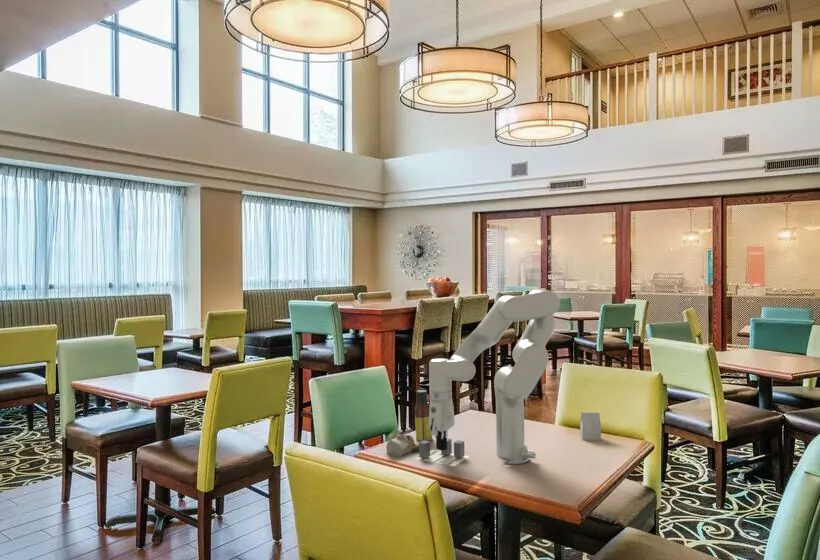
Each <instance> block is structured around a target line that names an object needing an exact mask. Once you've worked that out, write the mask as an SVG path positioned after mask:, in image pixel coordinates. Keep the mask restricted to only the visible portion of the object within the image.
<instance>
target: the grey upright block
mask: <svg viewBox="0 0 820 560" xmlns="http://www.w3.org/2000/svg"><path fill="white" fill-rule="evenodd" d="M601 424H602V423H601V416H600V412H580V420H579V427H580V429H579V433H580V435H579V437H580V439H581V440H582V441H601V440H602V431H601V430H602V429H601V428H602V425H601Z"/></svg>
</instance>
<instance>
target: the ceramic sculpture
mask: <svg viewBox="0 0 820 560" xmlns="http://www.w3.org/2000/svg"><path fill="white" fill-rule="evenodd" d="M385 447H386V448H385V449H386V453H387V454H389V456H393V457H403V456H404V455H405V454H410V453H417V452H419V444H416V443H415V440H414V437H413V436H412V435H411V434H407V433H405V431H401V432H399V433H397V434H396V436H395V437H394V439H388V441H387V442H386V446H385Z"/></svg>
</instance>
